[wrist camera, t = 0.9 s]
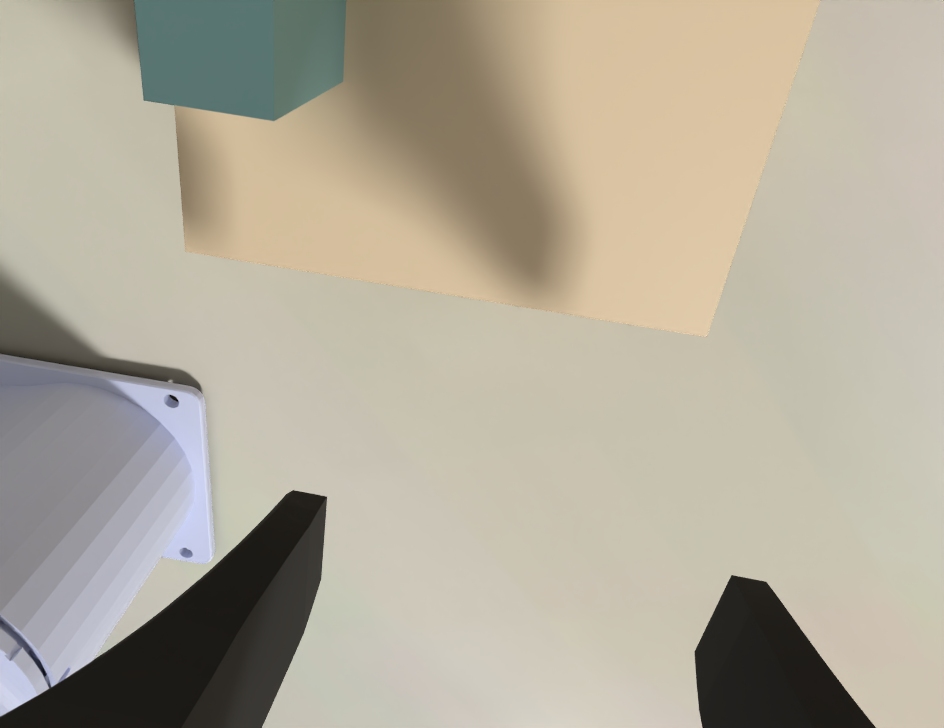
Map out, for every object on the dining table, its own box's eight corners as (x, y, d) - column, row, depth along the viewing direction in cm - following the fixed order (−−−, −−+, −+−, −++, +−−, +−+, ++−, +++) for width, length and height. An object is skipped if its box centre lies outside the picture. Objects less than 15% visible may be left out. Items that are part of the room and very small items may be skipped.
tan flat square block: (196, 242, 17) (85, 330, 13) (147, -501, 11) (-90, -771, 7) (702, 325, 17) (748, 441, 13) (938, -391, 11) (1171, -604, 7)
